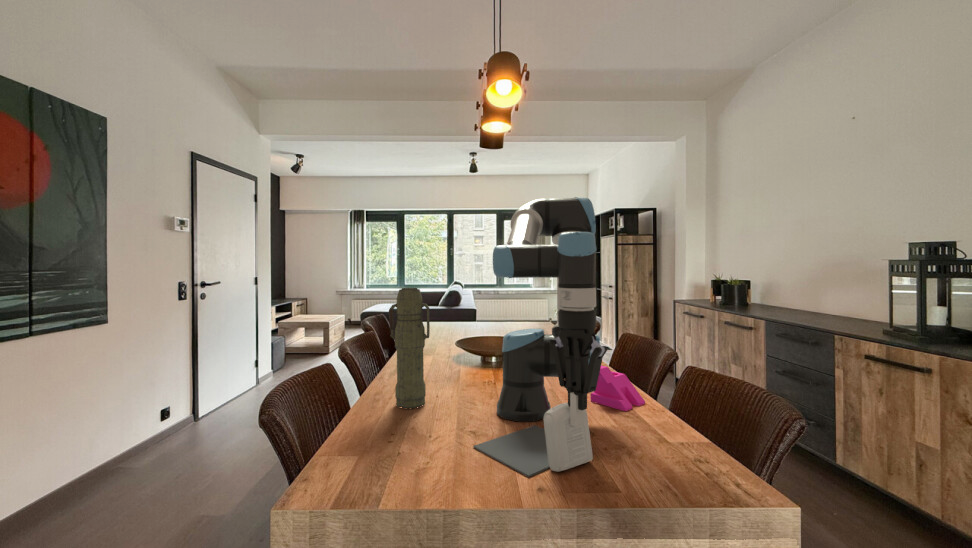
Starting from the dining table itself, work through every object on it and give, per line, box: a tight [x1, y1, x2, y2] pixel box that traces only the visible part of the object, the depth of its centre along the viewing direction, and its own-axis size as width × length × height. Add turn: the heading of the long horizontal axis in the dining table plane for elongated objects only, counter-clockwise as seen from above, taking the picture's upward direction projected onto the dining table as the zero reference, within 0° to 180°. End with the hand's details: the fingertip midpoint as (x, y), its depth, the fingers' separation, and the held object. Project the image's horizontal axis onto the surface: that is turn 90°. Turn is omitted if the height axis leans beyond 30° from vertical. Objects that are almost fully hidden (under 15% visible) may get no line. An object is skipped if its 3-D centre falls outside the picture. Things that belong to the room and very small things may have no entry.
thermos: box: [388, 287, 431, 409], centre depth 129 cm, size 9×12×35 cm
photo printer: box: [543, 402, 594, 473], centre depth 90 cm, size 10×4×12 cm, turn 123°
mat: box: [472, 424, 551, 478], centre depth 98 cm, size 18×20×1 cm
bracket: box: [590, 365, 646, 412], centre depth 130 cm, size 12×10×10 cm
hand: (577, 423), depth 88 cm, fingers closed
